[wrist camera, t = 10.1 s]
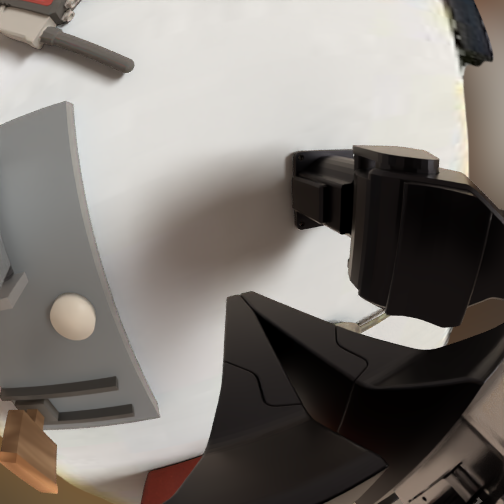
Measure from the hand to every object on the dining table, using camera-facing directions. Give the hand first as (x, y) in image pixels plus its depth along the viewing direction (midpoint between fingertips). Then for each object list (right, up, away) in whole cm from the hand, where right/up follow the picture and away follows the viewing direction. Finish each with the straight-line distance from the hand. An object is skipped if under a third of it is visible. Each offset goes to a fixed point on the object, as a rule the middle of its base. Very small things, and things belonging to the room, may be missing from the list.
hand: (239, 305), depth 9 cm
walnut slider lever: (-21, -13, +10) cm, 27 cm away
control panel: (-18, -3, +9) cm, 21 cm away
